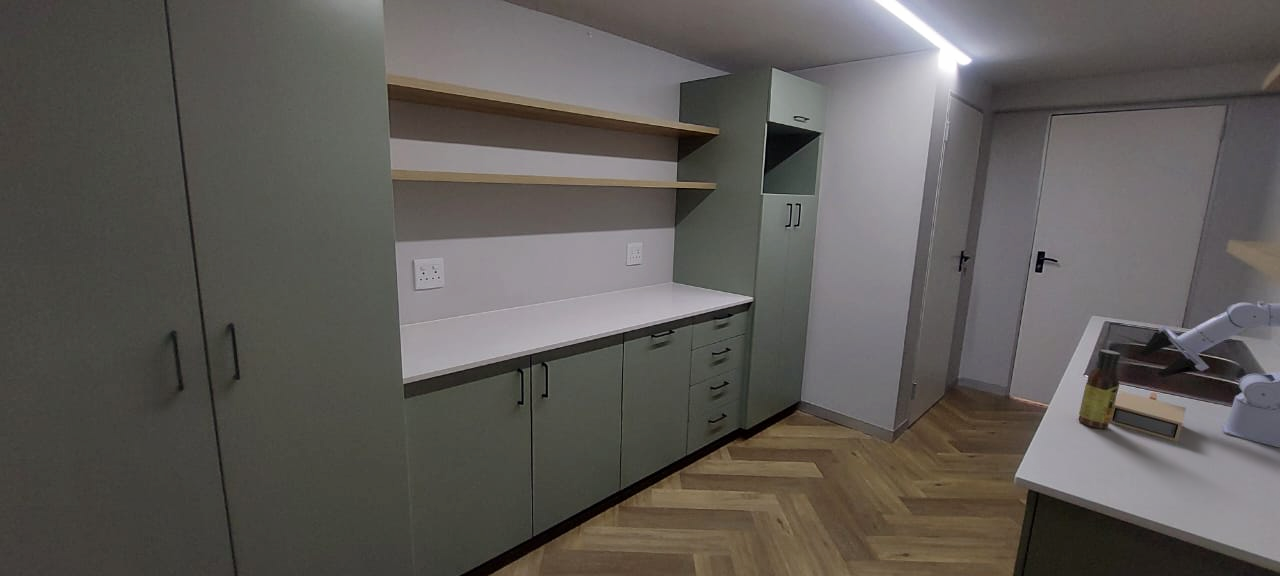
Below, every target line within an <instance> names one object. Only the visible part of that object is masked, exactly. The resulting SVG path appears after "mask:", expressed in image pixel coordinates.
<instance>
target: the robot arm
mask: <svg viewBox="0 0 1280 576" xmlns="http://www.w3.org/2000/svg"><path fill="white" fill-rule="evenodd" d="M1260 326H1263V327H1274V328H1275V327H1277V328H1278V327H1280V303H1279V302H1278V303H1265V301H1257V304H1254V303H1252V302H1251V303H1250V302H1246V301H1245V302H1244V301H1243V302H1238V303H1236V304H1234V303H1232V304H1231V305H1229V306H1228V307H1227V309H1226V311H1224V312H1221V313H1219V314H1218V315H1217V316H1213V317H1212V318H1210V319H1208V320H1206V321H1204V322H1202V323H1201V324H1199V325H1196V326H1195V327H1193V328H1191V329H1189V330H1188V331H1186V332H1184V333H1182V334H1179V335H1177V333H1175V332H1174V331H1173V330H1172V329H1171V328H1170V327H1169V326H1167V325H1163V326H1162V327H1160V328H1158V331H1159V332H1158V331H1155V332H1153V334H1152V336H1151V339H1150V340H1149V341H1148V343H1146V345H1144V347H1142V349H1140V350H1139V351H1138V352H1137V353H1138V354H1139V355H1141V356H1142V357H1146V356H1147V357H1148V356H1150V355H1151V354H1153V353H1155V352H1156V351H1159V350H1162V349H1164V348H1166V347H1170V346H1175V348H1176V349H1178V351H1179V352H1181V354H1182V356H1180V358H1178V359H1177V360H1176V361H1175V362H1173V363H1172V364H1170V365H1168V366H1167V367H1165V368H1163V369H1161V370H1158V372H1157V373H1156V374H1157V375H1158V376H1160V377H1161V378H1166V377H1170V376H1175V375H1177V374H1184V373H1197V372H1199V371H1200V372H1203V371H1205V370H1207V369H1209V368H1210V367H1209V365H1208V364H1207V363H1206V362H1205V361H1204V360H1203V359H1202V358H1201V357H1200V356H1199V354H1200V353H1202V352H1204V351H1206V350H1208V349H1210V348H1212V347H1214V346H1215V345H1218V344H1220V343H1222V342H1225V340H1228V339H1229V338H1231V337H1234V336H1235V335H1237V334H1238V333H1240V332H1242V331H1243V330H1246V329H1255V328H1258V327H1260ZM1183 355H1184V356H1185V357H1186V358H1185V357H1184V356H1183ZM1238 381H1239V382H1238V387H1239V389H1240V391H1241V392H1240V393H1239V394H1237V395H1235V396H1234V399H1233V402H1232V407H1231V409H1230V413H1229V415H1228V418H1227V422H1226V423H1222V433H1224V434H1226V435H1230V436H1234V437H1238V438H1241V439H1245V440H1248V441H1249V440H1250V441H1253V442H1256V443H1260V444H1264V445H1267V446H1272V447H1276V448H1280V408H1279V403H1280V371H1272V372H1269V373H1249V374H1246V375H1244V376H1242V377H1241V378H1240V379H1239V380H1238Z"/></svg>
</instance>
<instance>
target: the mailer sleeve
mask: <svg viewBox="0 0 1280 576" xmlns="http://www.w3.org/2000/svg"><path fill="white" fill-rule="evenodd" d="M1117 408H1119V409H1123V410H1127V411H1130V412H1134V413H1138V414H1141V415H1145V416H1149V417H1153V418H1156V419H1160V420H1164V421H1167V422H1171V423H1175V424H1176V428H1175V431H1174V435H1173V437H1172V436H1168V435H1165V434H1161V433H1158V432H1154V431H1150V430H1147V429H1143V428H1140V427H1136V426H1133V425H1129V424H1126V423H1122V422H1119V421H1115V420H1114V419H1115V414H1116V410H1117ZM1186 410H1187V407H1186V406H1181V405H1177V404H1173V403H1170V402H1169V403H1168V402H1165V401H1161V400H1157V399H1156V400H1154V399H1150V397H1145V396H1143V395H1142V396H1141V395H1137V394H1133V393H1131V392H1130V393H1129V392H1124V391H1120V392H1119V393H1118V394H1117V396H1116V400H1115V404H1114V408H1113V412H1112V416H1111V420H1110V423H1111V424H1113V425H1118V426H1121V427H1125V428H1128V429H1132V430H1135V431H1138V432H1142V433H1145V434H1148V435H1149V434H1150V435H1153V436H1156V437H1158V438H1159V437H1160V438H1163V439H1167V440H1169V441H1173V442H1176V443H1178V442H1179V441H1178V440H1179V438H1180V435H1181V430H1182V428H1183V424H1184V421H1185V420H1184V418H1185V415H1186ZM1110 423H1109V424H1110Z"/></svg>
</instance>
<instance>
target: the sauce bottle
mask: <svg viewBox="0 0 1280 576" xmlns="http://www.w3.org/2000/svg"><path fill="white" fill-rule="evenodd" d="M1120 359H1121V353H1120V352H1118V351H1114V350H1109V349H1100V350H1099V352H1098V361H1097V363H1096V367H1095V368H1094V369H1093V370H1091V371H1090V372H1089V374H1088V376H1087V381H1086V383H1085V387H1084V392H1083V396H1082V400H1081V405H1080V408H1079V413H1078V421H1079V422H1080V423H1081V424H1082V425H1085V426H1087V427H1090V428H1095V429H1108V428H1109V425H1110V420H1111V416H1112V412H1113V408H1114V404H1115V400H1116V398H1117V397H1118V391H1119V388H1120V387H1119V386H1120V381H1119V377H1118V373H1117V367H1118V363H1119V360H1120Z"/></svg>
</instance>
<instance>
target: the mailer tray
mask: <svg viewBox="0 0 1280 576" xmlns="http://www.w3.org/2000/svg"><path fill="white" fill-rule="evenodd" d="M1157 396H1158V393H1156V392H1151V393H1150V396H1149V398H1150V399H1154V400H1157ZM1114 420H1115V421H1119V422H1122V423H1126V424H1129V425H1133V426H1136V427H1140V428H1143V429H1147V430H1150V431H1154V432H1158V433H1161V434H1165V435H1168V436H1172V437H1173V435H1174V431H1175V428H1176V424H1175V423H1171V422H1167V421H1164V420H1160V419H1156V418H1153V417H1149V416H1145V415H1141V414H1138V413H1134V412H1130V411H1127V410H1123V409H1119V408H1117V410H1116V414H1115V419H1114Z"/></svg>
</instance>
